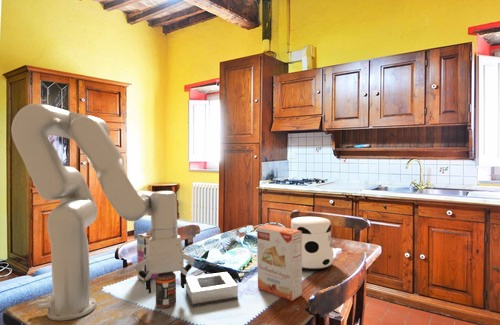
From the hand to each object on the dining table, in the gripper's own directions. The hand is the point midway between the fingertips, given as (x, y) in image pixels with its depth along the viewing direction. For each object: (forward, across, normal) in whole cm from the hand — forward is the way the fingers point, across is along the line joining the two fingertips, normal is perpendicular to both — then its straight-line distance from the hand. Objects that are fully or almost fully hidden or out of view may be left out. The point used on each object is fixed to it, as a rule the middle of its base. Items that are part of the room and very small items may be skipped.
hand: (166, 289), depth 98 cm
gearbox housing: (+5, +14, +1) cm, 15 cm away
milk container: (+5, +57, +13) cm, 59 cm away
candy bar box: (+5, -2, +24) cm, 25 cm away
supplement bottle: (+5, 0, 0) cm, 5 cm away
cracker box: (+5, +35, -5) cm, 36 cm away
